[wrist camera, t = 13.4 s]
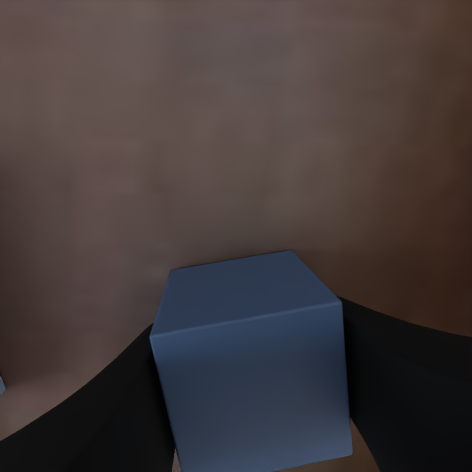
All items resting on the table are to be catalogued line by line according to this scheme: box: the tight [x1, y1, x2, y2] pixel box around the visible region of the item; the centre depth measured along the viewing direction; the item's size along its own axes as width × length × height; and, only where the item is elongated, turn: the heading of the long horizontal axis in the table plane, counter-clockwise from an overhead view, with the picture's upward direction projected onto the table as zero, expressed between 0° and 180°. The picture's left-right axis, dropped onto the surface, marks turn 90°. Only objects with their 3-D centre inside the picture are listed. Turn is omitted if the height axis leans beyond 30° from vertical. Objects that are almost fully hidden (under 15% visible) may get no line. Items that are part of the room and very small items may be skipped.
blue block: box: [149, 250, 353, 472], centre depth 10 cm, size 4×4×4 cm
